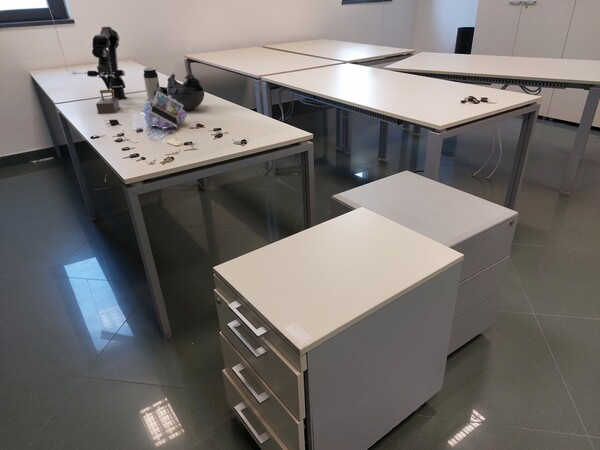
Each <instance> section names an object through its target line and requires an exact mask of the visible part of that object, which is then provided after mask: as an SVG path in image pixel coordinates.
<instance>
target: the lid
mask: <svg viewBox="0 0 600 450" xmlns="http://www.w3.org/2000/svg"><path fill="white" fill-rule="evenodd" d="M99 93H100V96H101V98H100V99H99V100H98V101H97V102H96V103H95V105H106V104H114V103H115V102H116V101H117V99H118V98H115V96H114V90H111V89H110V90H108V89H100V90H99ZM104 94H111V95H112V94H113V98H112V97H109V98H108V97H107V98H106V97H105V98H104Z"/></svg>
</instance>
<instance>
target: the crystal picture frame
mask: <svg viewBox="0 0 600 450" xmlns="http://www.w3.org/2000/svg"><path fill="white" fill-rule="evenodd" d="M183 106H184V105H182V104H181V103H179V102H177V101H176V99H172V97H171V95H170V96H167V95H165V94H163V93H162V92H160V91H158V90H157V93H156V95H155V97H154V99H153V100H149V101H145V103H143V105H142V107H143V109H142V113H144V115H145V116H144V121H145V124H146V125H147V126H149V127H151V126H150V125H155V126H156V125H158V126H161V127H168V126H169V127H168V128H164V129H163V128H161V127H159V128H160V129H162V130H164V131H165V130H168V129H169V128H172V127H174V128H176V129H178V125H179V124H183V123H184V122H185V120H186V118H187V113H186V110H182V108H183Z"/></svg>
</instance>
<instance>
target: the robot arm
mask: <svg viewBox="0 0 600 450" xmlns="http://www.w3.org/2000/svg"><path fill="white" fill-rule="evenodd" d="M91 45H92V50H91V53H92V55H93V57H95V58H97V60H98V64H97V66H96V70H87V73H86V74H87V77H90V78H97V77H98V79H99V78H100V79H101V80H102V81H103V83H104V85H105V87H106V90H114V96H115V98H118V101H119V100H123V99H127V96H126V94H125V90H124V89H126V84H125V81H124V79H123V77H125V76H126V73H125V71H124V70H123V69H119V65H118V64H119V63H118V53H117V52H118V51H117V50H118V47H119V45H120V36H119V33H118V32H117V31H116V30H115V29H113V28H112V26H102V27H101V30H100V32H99V34H95V35H93V38H92V44H91ZM111 98H113V94H112V93H111Z"/></svg>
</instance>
